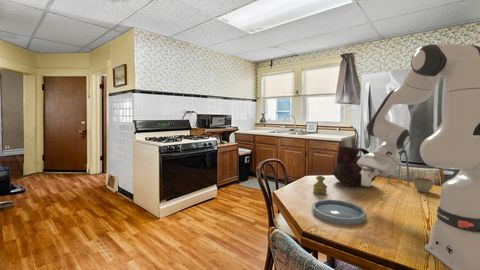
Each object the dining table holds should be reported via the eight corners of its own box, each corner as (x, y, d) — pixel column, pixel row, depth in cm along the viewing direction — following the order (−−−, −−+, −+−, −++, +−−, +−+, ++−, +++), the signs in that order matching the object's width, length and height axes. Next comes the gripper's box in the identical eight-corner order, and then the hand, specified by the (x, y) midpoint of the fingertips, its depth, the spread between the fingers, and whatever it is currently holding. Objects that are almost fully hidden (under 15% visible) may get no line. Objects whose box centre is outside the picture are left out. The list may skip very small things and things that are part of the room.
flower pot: (437, 194, 137) (438, 182, 136) (417, 193, 139) (418, 181, 138) (427, 189, 147) (428, 177, 146) (408, 188, 149) (409, 176, 148)
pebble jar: (372, 186, 116) (373, 169, 116) (362, 185, 117) (363, 168, 116) (369, 183, 121) (370, 167, 120) (359, 183, 122) (360, 166, 121)
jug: (384, 190, 144) (387, 148, 141) (343, 190, 142) (345, 148, 140) (361, 178, 169) (363, 143, 166) (326, 179, 167) (327, 143, 165)
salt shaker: (317, 195, 133) (318, 178, 133) (310, 191, 141) (311, 174, 140) (329, 194, 135) (330, 177, 135) (321, 190, 143) (322, 173, 142)
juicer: (388, 182, 160) (391, 137, 157) (398, 180, 164) (401, 137, 162) (403, 186, 151) (406, 139, 148) (414, 184, 156) (417, 138, 153)
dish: (372, 227, 97) (372, 221, 96) (314, 221, 101) (315, 215, 101) (357, 206, 118) (358, 201, 118) (311, 202, 123) (311, 197, 123)
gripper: (364, 148, 129) (347, 167, 128) (397, 154, 109) (377, 176, 108) (371, 156, 131) (354, 174, 129) (404, 163, 111) (385, 185, 109)
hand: (365, 175), depth 118 cm, fingers closed on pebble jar, 4 cm apart
